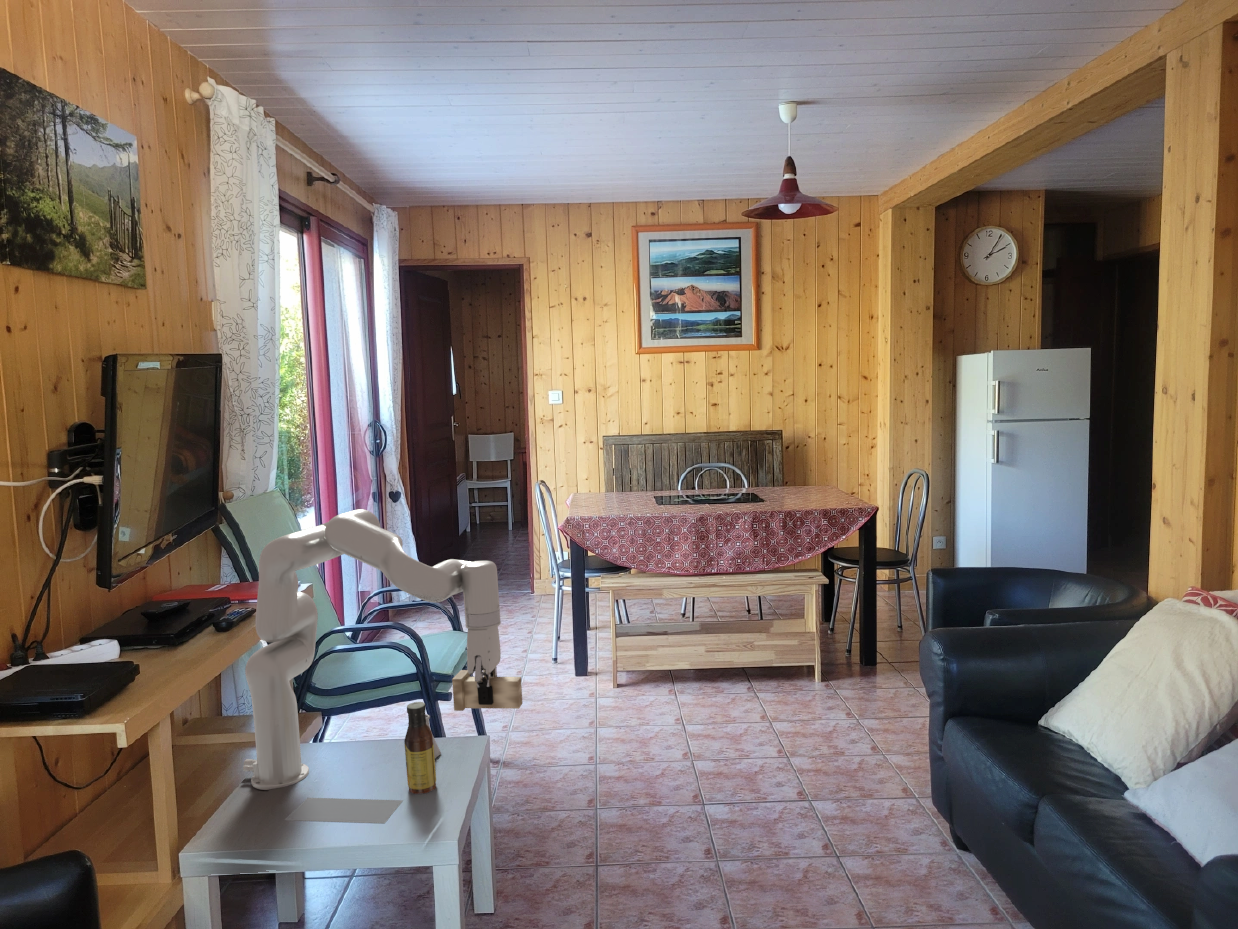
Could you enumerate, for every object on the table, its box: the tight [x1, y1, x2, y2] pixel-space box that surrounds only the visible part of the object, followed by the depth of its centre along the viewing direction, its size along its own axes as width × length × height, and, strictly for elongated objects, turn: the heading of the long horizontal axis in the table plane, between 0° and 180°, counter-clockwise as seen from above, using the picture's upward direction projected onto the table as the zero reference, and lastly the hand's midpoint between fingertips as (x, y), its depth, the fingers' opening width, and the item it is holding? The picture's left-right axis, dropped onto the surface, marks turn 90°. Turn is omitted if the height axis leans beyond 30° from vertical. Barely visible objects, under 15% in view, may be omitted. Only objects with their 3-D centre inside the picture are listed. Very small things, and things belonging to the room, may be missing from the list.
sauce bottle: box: [403, 701, 437, 795], centre depth 193 cm, size 7×6×20 cm
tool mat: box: [284, 797, 404, 824], centre depth 185 cm, size 22×10×1 cm, turn 82°
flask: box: [425, 713, 442, 759], centre depth 212 cm, size 7×7×10 cm
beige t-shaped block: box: [451, 669, 523, 712], centre depth 190 cm, size 14×6×7 cm, turn 82°
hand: (488, 700), depth 190 cm, fingers closed on beige t-shaped block, 3 cm apart
